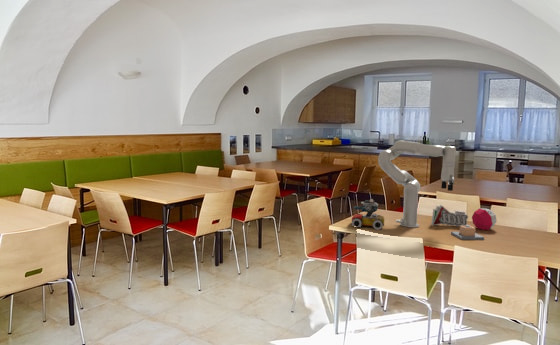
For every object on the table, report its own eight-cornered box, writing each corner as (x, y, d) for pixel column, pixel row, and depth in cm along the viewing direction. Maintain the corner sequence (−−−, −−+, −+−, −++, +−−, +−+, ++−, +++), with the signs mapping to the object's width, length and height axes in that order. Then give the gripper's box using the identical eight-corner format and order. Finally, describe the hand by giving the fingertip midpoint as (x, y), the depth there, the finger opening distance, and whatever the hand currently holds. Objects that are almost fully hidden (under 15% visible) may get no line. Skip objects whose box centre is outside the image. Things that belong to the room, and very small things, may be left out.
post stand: (461, 239, 269) (461, 227, 268) (450, 233, 283) (451, 222, 282) (484, 239, 270) (484, 227, 269) (472, 234, 284) (473, 222, 283)
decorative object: (468, 207, 300) (486, 202, 304) (466, 225, 307) (483, 219, 310) (484, 218, 287) (502, 212, 291) (481, 236, 294) (499, 230, 298)
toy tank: (353, 222, 312) (354, 195, 310) (384, 224, 307) (385, 197, 305) (350, 227, 294) (351, 199, 292) (383, 230, 289) (385, 201, 287)
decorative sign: (464, 229, 307) (468, 208, 305) (465, 230, 304) (469, 209, 302) (430, 224, 309) (434, 203, 307) (431, 225, 306) (435, 204, 304)
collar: (464, 235, 272) (464, 228, 272) (459, 232, 279) (459, 225, 279) (475, 235, 273) (475, 228, 272) (469, 233, 280) (470, 225, 279)
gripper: (437, 163, 297) (436, 187, 299) (449, 165, 280) (447, 191, 282) (448, 163, 297) (446, 187, 299) (460, 165, 280) (458, 191, 282)
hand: (446, 189), depth 290 cm, fingers open, 9 cm apart
